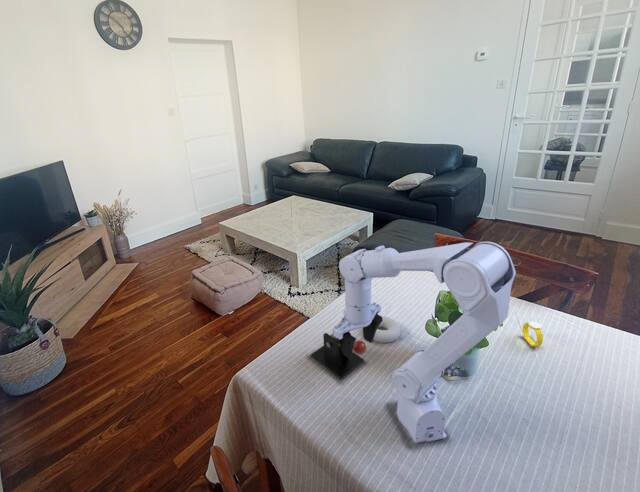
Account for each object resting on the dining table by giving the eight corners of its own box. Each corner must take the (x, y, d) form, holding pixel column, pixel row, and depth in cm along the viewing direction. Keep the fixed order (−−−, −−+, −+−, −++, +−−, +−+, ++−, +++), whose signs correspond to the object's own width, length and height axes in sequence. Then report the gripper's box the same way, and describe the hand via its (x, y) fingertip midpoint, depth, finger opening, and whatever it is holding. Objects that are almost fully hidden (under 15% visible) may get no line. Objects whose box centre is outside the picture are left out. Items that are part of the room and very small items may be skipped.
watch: (518, 335, 93) (521, 317, 91) (528, 334, 93) (532, 316, 91) (532, 350, 88) (536, 331, 85) (543, 350, 87) (548, 331, 85)
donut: (404, 345, 93) (396, 322, 102) (404, 336, 92) (396, 313, 101) (367, 345, 94) (362, 322, 104) (367, 336, 93) (362, 313, 102)
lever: (370, 351, 81) (367, 339, 80) (361, 358, 79) (358, 346, 78) (338, 341, 90) (335, 329, 89) (329, 346, 88) (326, 335, 88)
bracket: (364, 363, 88) (364, 336, 85) (340, 381, 83) (339, 353, 80) (333, 342, 97) (332, 316, 94) (310, 357, 92) (308, 331, 89)
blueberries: (427, 370, 84) (428, 364, 84) (447, 356, 88) (447, 350, 88) (453, 387, 79) (454, 381, 78) (472, 371, 83) (473, 365, 82)
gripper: (364, 282, 84) (364, 326, 88) (322, 306, 76) (324, 354, 80) (388, 293, 78) (387, 340, 83) (346, 320, 70) (347, 370, 75)
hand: (358, 348), depth 81 cm, fingers open, 7 cm apart
